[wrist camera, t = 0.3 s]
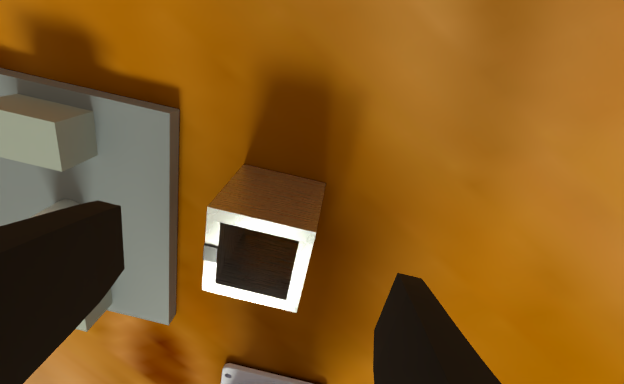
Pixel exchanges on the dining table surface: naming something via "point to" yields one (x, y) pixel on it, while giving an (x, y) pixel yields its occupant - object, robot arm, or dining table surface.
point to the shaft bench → (97, 177)
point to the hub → (261, 237)
